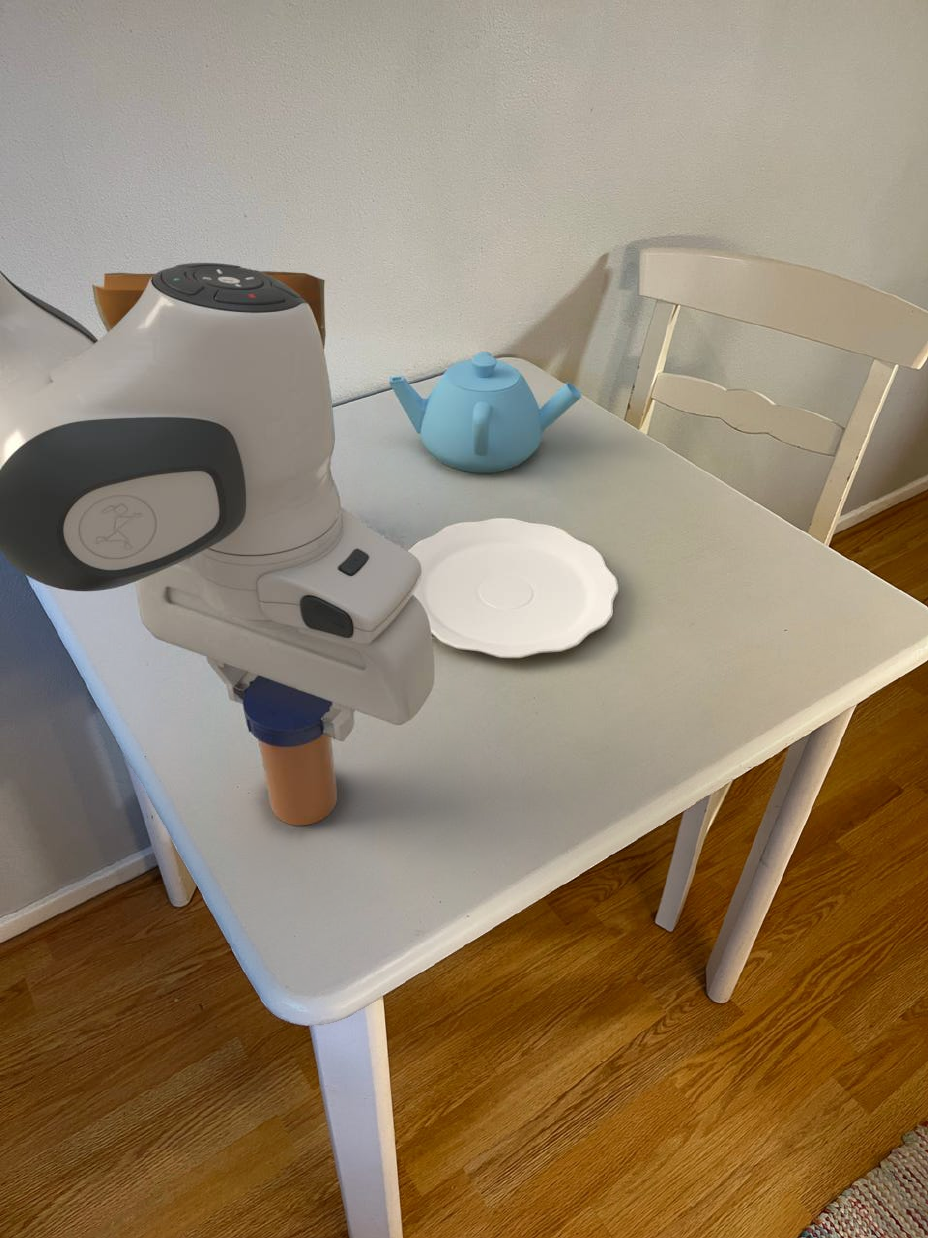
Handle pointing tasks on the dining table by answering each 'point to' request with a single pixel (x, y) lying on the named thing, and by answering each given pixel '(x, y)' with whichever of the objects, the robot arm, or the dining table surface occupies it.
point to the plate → (512, 587)
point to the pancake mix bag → (129, 287)
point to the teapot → (481, 414)
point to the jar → (300, 780)
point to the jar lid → (283, 713)
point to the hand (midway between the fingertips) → (292, 714)
